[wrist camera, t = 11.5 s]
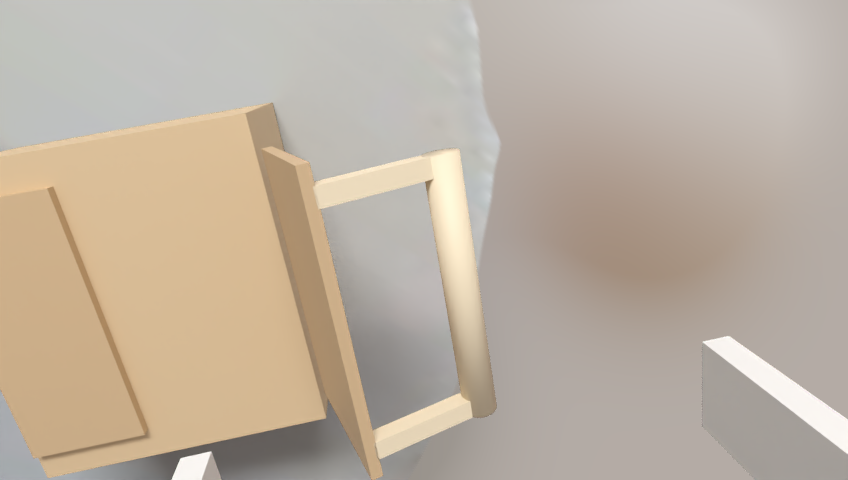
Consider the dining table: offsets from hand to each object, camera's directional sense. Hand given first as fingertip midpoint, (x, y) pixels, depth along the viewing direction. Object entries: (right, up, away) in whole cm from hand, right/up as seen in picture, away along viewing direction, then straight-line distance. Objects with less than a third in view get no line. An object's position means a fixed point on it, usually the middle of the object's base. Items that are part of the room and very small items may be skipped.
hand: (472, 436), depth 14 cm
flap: (-7, +2, +14) cm, 16 cm away
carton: (-19, +4, +27) cm, 34 cm away
